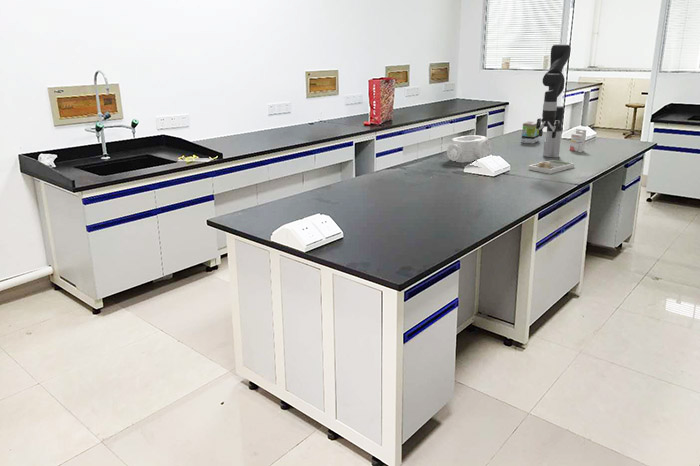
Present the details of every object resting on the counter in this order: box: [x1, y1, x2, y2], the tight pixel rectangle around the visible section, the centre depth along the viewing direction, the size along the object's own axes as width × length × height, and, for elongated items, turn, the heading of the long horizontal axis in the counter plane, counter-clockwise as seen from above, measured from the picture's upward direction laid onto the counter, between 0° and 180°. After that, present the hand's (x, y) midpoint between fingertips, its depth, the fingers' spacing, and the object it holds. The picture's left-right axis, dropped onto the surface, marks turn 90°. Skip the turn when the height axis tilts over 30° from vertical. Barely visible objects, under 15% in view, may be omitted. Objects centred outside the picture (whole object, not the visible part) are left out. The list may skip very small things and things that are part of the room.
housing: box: [446, 134, 492, 163], centre depth 362 cm, size 35×22×14 cm, turn 134°
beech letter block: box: [537, 160, 551, 169], centre depth 327 cm, size 5×5×5 cm
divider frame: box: [528, 159, 576, 175], centre depth 332 cm, size 15×25×2 cm, turn 127°
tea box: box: [520, 121, 540, 144], centre depth 417 cm, size 15×10×15 cm, turn 147°
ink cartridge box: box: [569, 128, 587, 153], centre depth 379 cm, size 9×5×15 cm, turn 34°
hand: (546, 137), depth 321 cm, fingers open, 8 cm apart
